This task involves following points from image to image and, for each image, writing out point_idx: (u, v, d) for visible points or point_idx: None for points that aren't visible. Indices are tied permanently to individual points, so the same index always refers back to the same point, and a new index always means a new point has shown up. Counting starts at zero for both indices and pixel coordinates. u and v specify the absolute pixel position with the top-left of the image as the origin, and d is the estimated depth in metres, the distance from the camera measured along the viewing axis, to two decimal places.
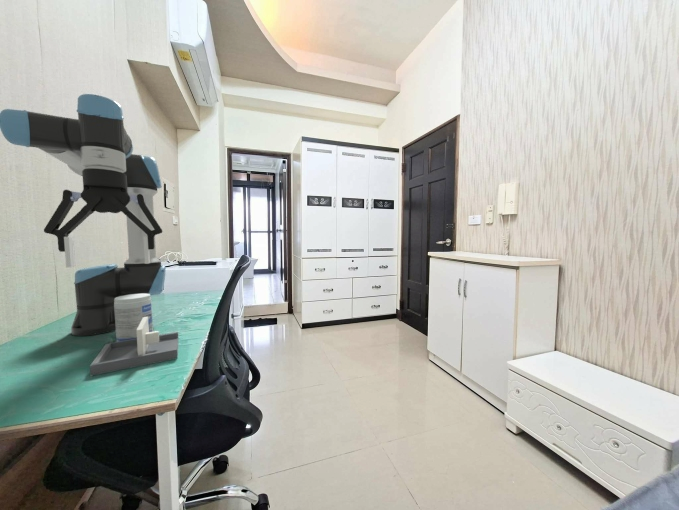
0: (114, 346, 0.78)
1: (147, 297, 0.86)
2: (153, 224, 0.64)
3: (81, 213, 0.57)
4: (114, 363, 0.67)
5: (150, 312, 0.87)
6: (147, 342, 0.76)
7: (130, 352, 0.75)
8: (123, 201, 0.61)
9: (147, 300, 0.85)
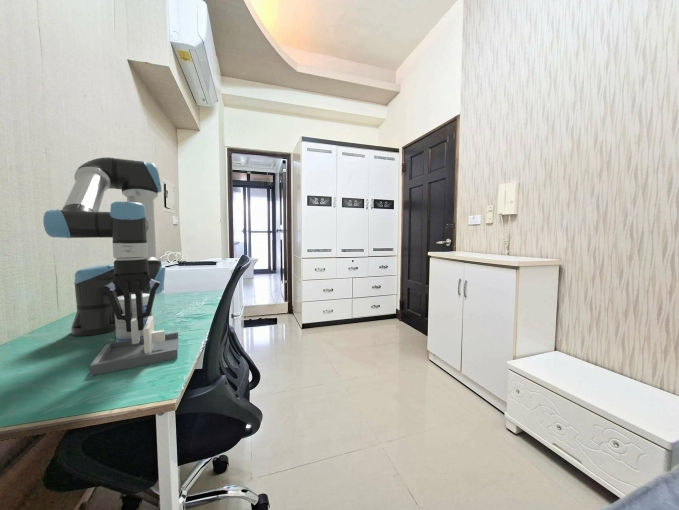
0: (114, 346, 0.78)
1: (147, 297, 0.86)
2: (148, 307, 0.75)
3: (126, 298, 0.73)
4: (114, 363, 0.67)
5: None
6: (153, 341, 0.77)
7: (130, 352, 0.75)
8: (143, 281, 0.74)
9: (147, 300, 0.85)
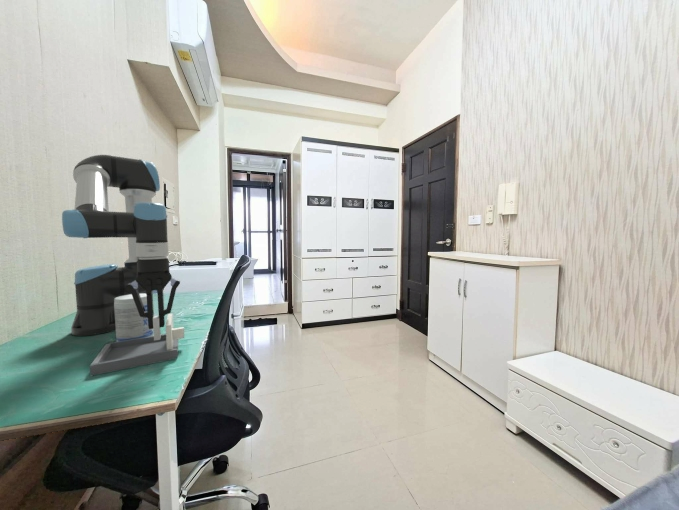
0: (114, 346, 0.78)
1: None
2: (169, 305, 0.78)
3: (148, 296, 0.75)
4: (114, 363, 0.67)
5: None
6: (173, 338, 0.79)
7: (130, 352, 0.75)
8: (164, 280, 0.77)
9: None
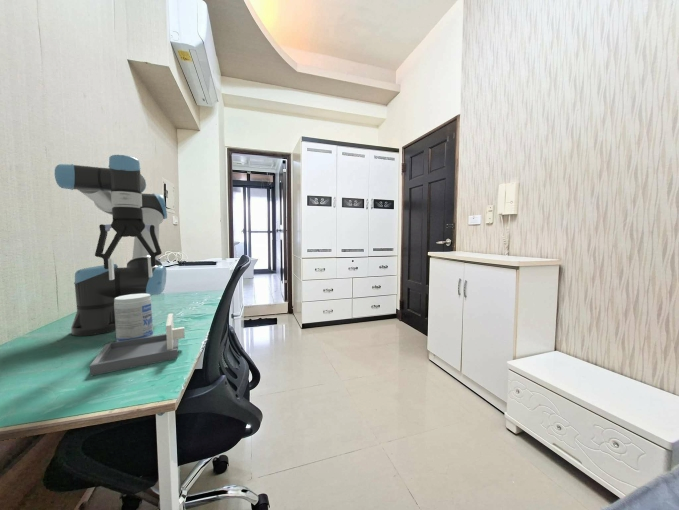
0: (114, 346, 0.78)
1: (147, 297, 0.86)
2: (156, 247, 0.87)
3: (115, 240, 0.82)
4: (114, 363, 0.67)
5: (150, 312, 0.87)
6: (174, 338, 0.79)
7: (130, 352, 0.75)
8: (139, 228, 0.85)
9: (147, 300, 0.85)
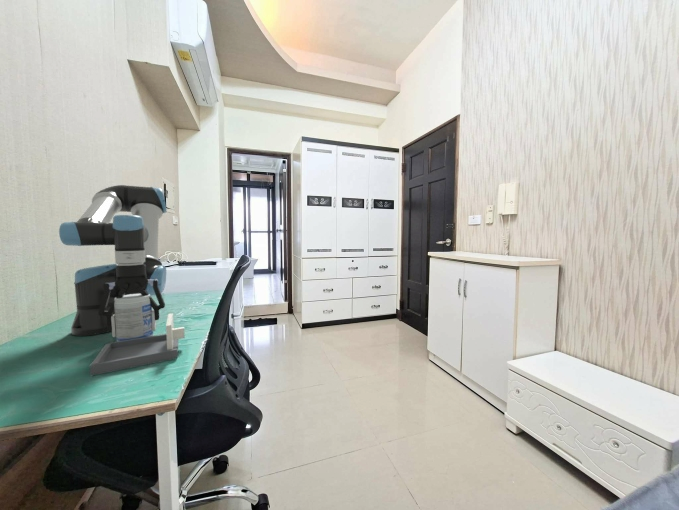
0: (114, 346, 0.78)
1: (147, 297, 0.86)
2: (159, 301, 0.88)
3: (118, 297, 0.83)
4: (114, 363, 0.67)
5: (150, 312, 0.87)
6: (174, 338, 0.79)
7: (130, 352, 0.75)
8: (142, 284, 0.86)
9: (147, 300, 0.85)
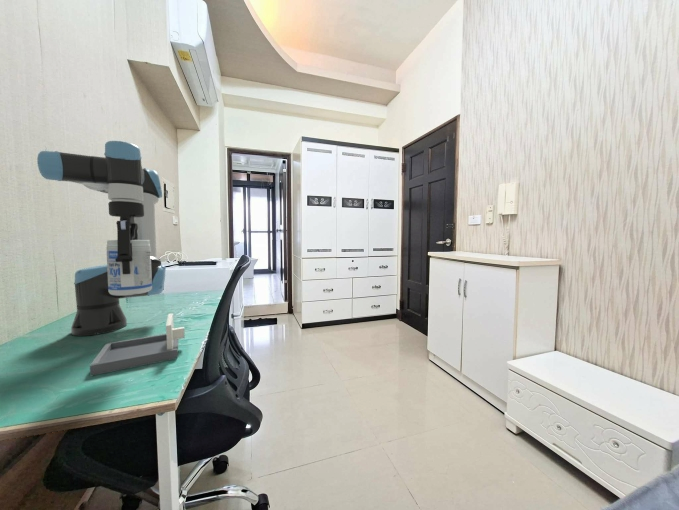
0: (114, 346, 0.78)
1: (115, 242, 0.69)
2: (118, 250, 0.67)
3: None
4: (114, 363, 0.67)
5: (119, 262, 0.69)
6: (174, 338, 0.79)
7: (130, 352, 0.75)
8: None
9: (113, 246, 0.69)
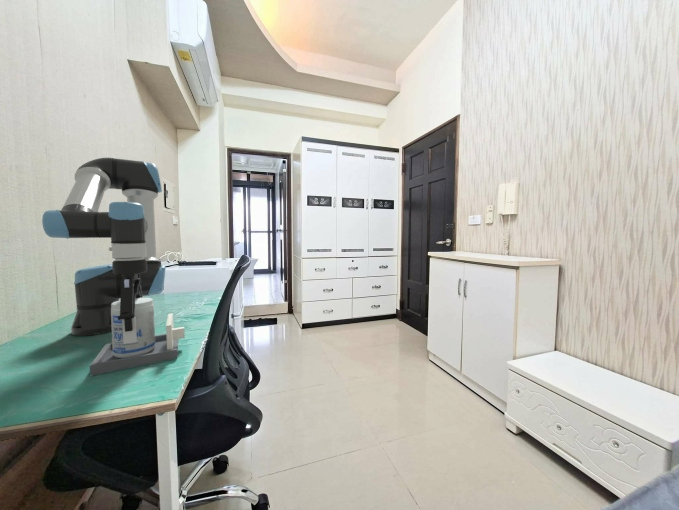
0: None
1: (119, 307, 0.70)
2: None
3: None
4: (114, 363, 0.67)
5: None
6: (174, 338, 0.79)
7: None
8: None
9: (118, 311, 0.70)
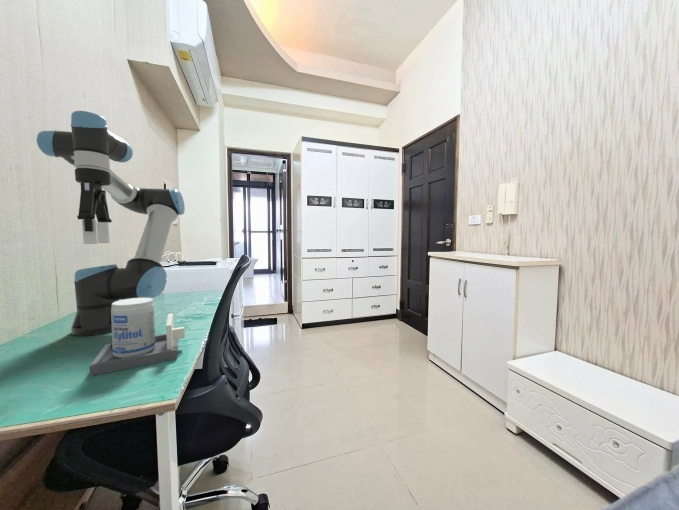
0: None
1: (120, 307, 0.70)
2: None
3: None
4: (114, 363, 0.67)
5: (124, 326, 0.70)
6: (174, 338, 0.79)
7: None
8: None
9: (118, 311, 0.70)
